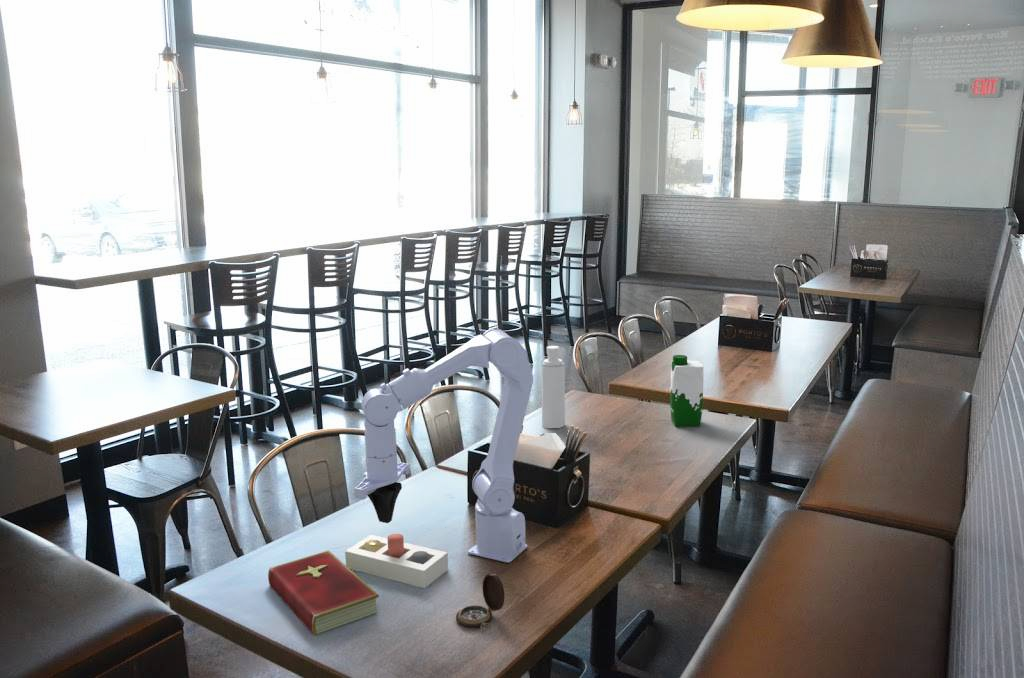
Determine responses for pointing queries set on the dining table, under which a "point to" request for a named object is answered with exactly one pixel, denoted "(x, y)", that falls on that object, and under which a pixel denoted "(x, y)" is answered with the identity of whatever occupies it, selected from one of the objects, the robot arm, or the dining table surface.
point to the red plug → (395, 545)
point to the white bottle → (553, 389)
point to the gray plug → (420, 557)
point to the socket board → (397, 563)
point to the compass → (480, 615)
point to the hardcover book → (322, 591)
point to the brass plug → (372, 545)
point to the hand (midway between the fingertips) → (385, 521)
